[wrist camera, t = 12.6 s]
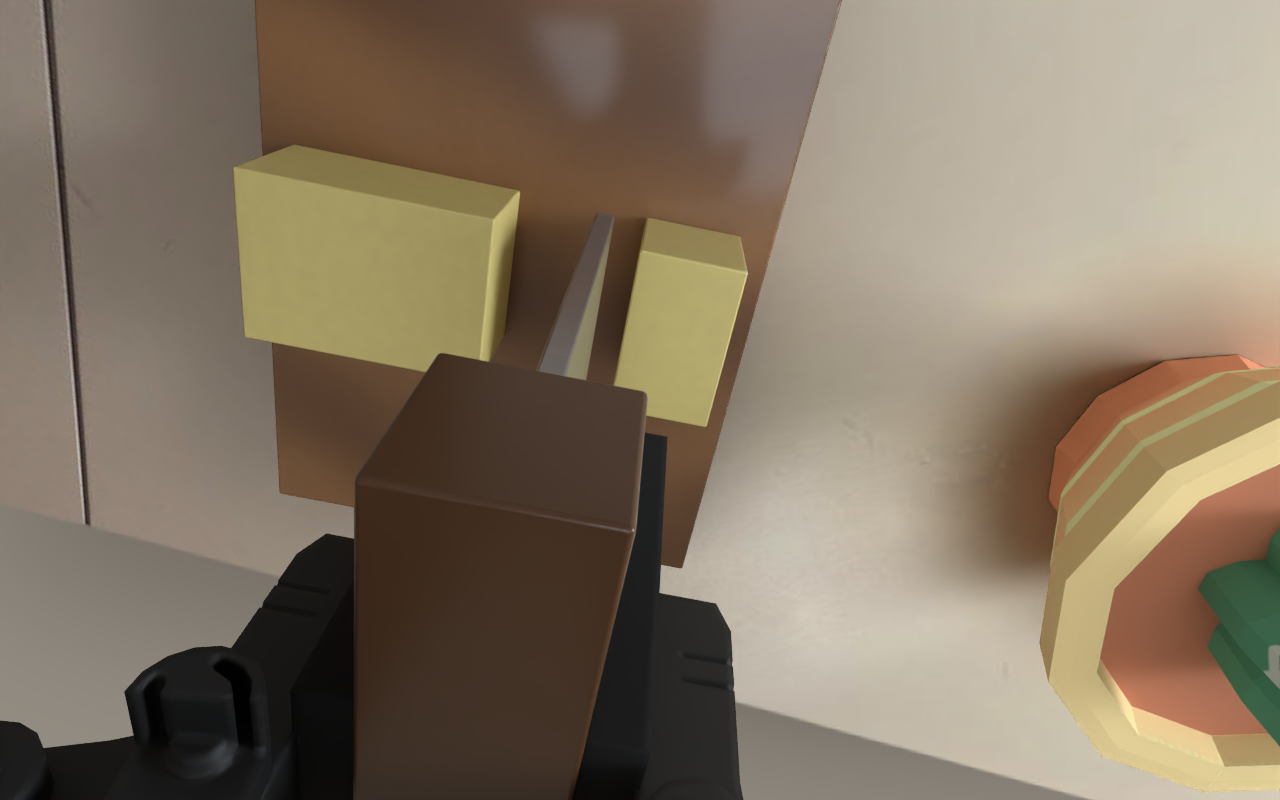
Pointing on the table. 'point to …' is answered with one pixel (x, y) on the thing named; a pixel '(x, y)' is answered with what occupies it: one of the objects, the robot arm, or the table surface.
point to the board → (544, 170)
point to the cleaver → (494, 566)
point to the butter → (372, 258)
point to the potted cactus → (1172, 574)
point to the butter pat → (681, 318)
